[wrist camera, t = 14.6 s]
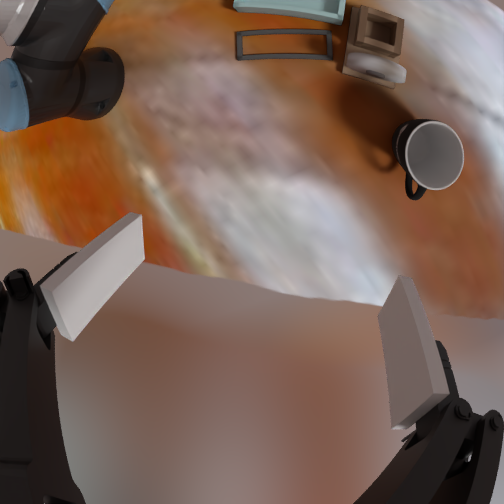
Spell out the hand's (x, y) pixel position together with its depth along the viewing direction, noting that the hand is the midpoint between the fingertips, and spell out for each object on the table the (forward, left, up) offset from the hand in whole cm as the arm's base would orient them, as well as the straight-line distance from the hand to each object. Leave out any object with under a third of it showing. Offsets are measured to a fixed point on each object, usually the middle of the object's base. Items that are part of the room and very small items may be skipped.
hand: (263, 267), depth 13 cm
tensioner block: (+8, +20, -32) cm, 38 cm away
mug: (+17, +5, -32) cm, 37 cm away
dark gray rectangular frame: (-5, +17, -32) cm, 36 cm away
